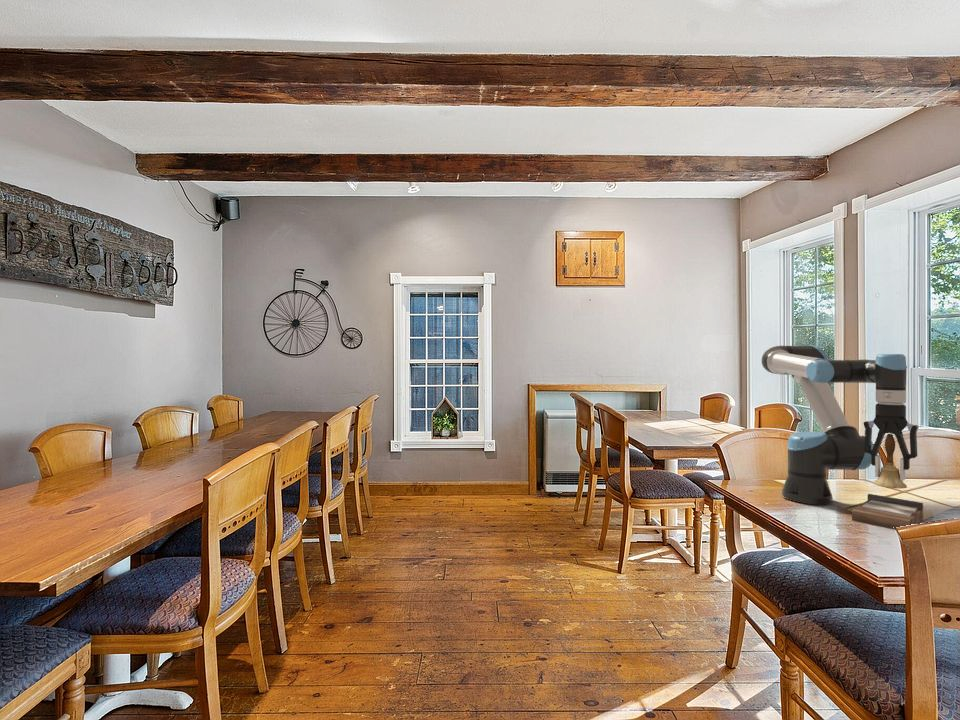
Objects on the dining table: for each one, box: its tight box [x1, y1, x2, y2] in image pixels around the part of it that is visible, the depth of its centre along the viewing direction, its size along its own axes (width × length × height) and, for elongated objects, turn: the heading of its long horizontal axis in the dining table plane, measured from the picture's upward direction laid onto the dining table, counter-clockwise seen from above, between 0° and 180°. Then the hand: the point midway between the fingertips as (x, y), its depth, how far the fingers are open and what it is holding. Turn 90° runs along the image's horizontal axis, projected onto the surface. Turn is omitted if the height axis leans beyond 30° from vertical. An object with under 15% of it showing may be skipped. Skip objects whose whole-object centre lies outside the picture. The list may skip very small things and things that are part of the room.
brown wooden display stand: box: [851, 493, 924, 529], centre depth 165 cm, size 18×14×5 cm
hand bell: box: [873, 433, 908, 489], centre depth 166 cm, size 8×8×16 cm
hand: (889, 477), depth 166 cm, fingers closed on hand bell, 5 cm apart
